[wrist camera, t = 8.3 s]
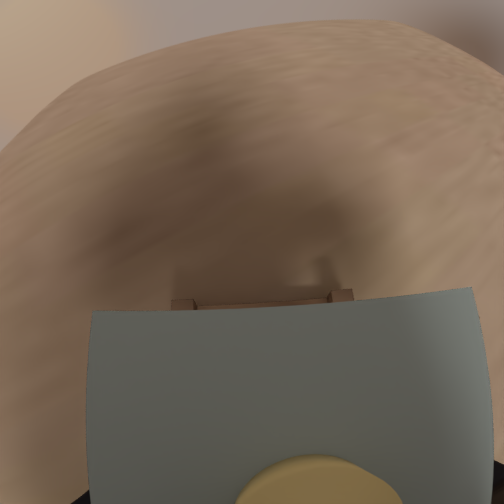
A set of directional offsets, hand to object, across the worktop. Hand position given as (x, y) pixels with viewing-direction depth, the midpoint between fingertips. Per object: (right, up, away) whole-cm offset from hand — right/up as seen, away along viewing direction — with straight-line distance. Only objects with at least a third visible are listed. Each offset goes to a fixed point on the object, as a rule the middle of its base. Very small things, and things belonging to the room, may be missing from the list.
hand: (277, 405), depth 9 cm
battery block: (0, -4, +5) cm, 7 cm away
